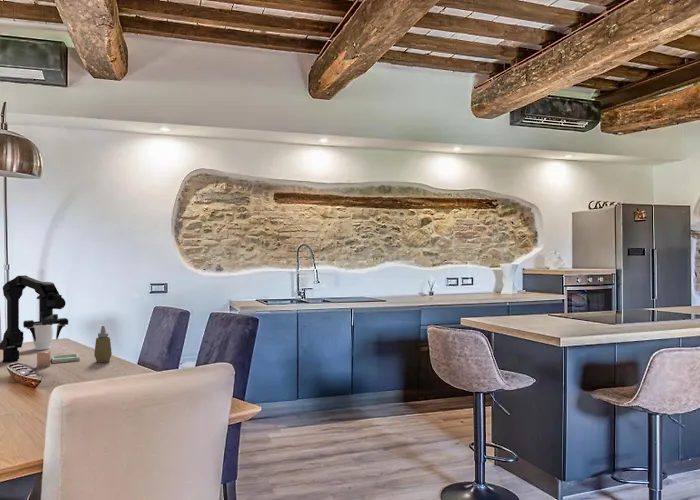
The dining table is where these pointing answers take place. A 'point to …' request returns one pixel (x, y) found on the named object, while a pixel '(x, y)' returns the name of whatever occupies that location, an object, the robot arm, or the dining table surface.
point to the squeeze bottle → (103, 347)
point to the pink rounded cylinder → (43, 359)
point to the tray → (65, 358)
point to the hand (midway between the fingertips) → (46, 340)
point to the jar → (43, 336)
